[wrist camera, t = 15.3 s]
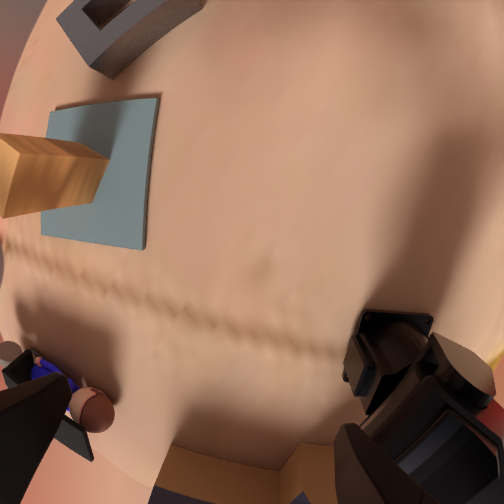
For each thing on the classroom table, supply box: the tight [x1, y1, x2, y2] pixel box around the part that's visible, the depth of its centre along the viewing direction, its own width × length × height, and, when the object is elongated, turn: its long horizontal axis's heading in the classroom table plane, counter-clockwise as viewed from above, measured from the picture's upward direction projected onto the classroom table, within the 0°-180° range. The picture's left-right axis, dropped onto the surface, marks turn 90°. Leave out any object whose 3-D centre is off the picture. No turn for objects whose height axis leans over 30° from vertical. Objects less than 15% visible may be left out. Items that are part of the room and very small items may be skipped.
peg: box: [0, 133, 110, 219], centre depth 14 cm, size 4×4×9 cm
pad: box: [41, 98, 159, 250], centre depth 19 cm, size 11×11×1 cm
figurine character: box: [0, 341, 115, 462], centre depth 21 cm, size 7×8×15 cm
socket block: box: [56, 0, 202, 80], centre depth 14 cm, size 9×9×4 cm
